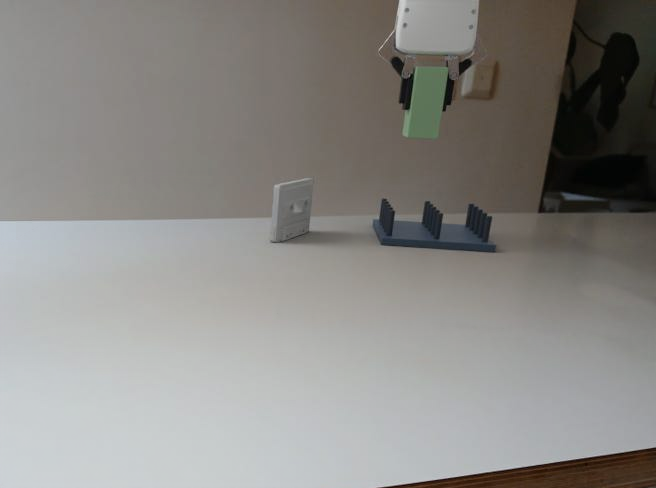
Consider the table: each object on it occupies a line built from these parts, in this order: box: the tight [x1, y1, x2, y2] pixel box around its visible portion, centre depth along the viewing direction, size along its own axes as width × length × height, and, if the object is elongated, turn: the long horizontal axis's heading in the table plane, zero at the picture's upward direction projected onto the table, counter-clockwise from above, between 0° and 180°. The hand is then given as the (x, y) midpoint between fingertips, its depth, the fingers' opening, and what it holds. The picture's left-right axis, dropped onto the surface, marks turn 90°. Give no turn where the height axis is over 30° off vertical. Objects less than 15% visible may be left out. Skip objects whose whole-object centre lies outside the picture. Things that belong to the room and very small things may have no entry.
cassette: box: [269, 177, 315, 243], centre depth 104 cm, size 12×2×8 cm, turn 148°
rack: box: [372, 198, 497, 253], centre depth 107 cm, size 15×16×4 cm
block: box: [402, 65, 449, 140], centre depth 101 cm, size 4×6×9 cm, turn 170°
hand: (423, 109), depth 101 cm, fingers closed on block, 4 cm apart
